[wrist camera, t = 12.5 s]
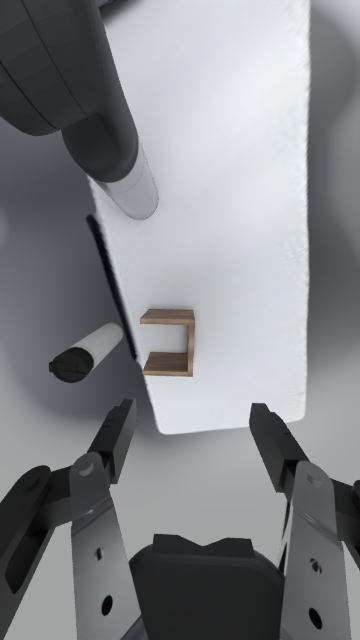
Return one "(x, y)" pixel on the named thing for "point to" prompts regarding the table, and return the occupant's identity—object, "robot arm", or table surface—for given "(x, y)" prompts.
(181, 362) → the wooden u-shaped bracket
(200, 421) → the table surface
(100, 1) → the bluetooth speaker
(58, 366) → the travel mug
